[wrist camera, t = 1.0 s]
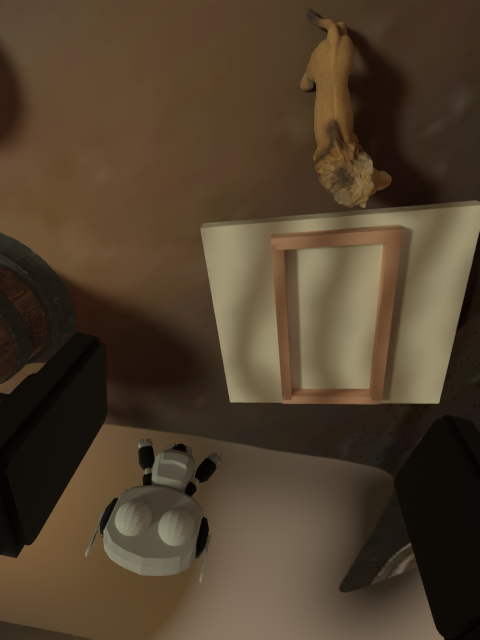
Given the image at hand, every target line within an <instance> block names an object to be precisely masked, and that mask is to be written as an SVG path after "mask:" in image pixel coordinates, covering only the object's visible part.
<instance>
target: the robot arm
mask: <svg viewBox="0 0 480 640" xmlns="http://www.w3.org/2000/svg"><path fill="white" fill-rule="evenodd" d="M106 415H107V382H106V347H105V344H103V343H100V339H99V337H96V336H92V335H87V334H83V333H75V334H74V335H73V336H72V337H71V338H70V339H69V340H68V341H67V342H66V343H65V344H64V345H63V346H62V347H61V348H60V349H59V350H58V351H57V353H56V354H55V355H54V356H53V357H52V358H51V359H50V360H49V361H48V362H47V363H46V364H45V365H44V366H43V367H42V368H41V369H40V370H39V371H38V372H37V373H33V374H31V375H29V376H28V377H26V378H25V379H24V380H23V381H22V382H21V383H20V384H19V385H18V386H17V387H16V388H15V389H14V390H13V391H12V392H11V393H10V394H9V395H8V396H7V397H6V398H5V399H4V400H3V401H2V402H1V404H0V555H5V556H9V557H14V558H17V557H18V555H19V553H20V552H21V550H22V548H23V547H24V545H31V544H32V543H33V542H34V540H35V539H36V538H37V536H38V534H39V533H40V531H41V529H42V528H43V526H44V524H45V523H46V520H47V519H48V517H49V516H50V514H51V512H52V510H53V509H54V507H55V505H56V504H57V502H58V500H59V499H60V497H61V495H62V493H63V492H64V490H65V488H66V486H67V485H68V483H69V481H70V480H71V478H72V476H73V475H74V473H75V471H76V470H77V468H78V466H79V464H80V463H81V461H82V459H83V457H84V456H85V454H86V452H87V451H88V449H89V447H90V446H91V444H92V442H93V440H94V439H95V437H96V435H97V434H98V432H99V430H100V428H101V427H102V425H103V423H104V421H105V419H106ZM394 485H395V490H396V494H397V497H398V500H399V504H400V507H401V511H402V514H403V517H404V521H405V524H406V528H407V531H408V534H409V538H410V541H411V545H412V548H413V551H414V555H415V558H416V562H417V565H418V569H419V572H420V575H421V579H422V582H423V585H424V589H425V592H426V596H427V599H428V602H429V606H430V609H431V613H432V616H433V619H434V623H435V626H436V628H437V630H438V632H439V633H440V634H441V636H443V637H444V640H480V433H479V431H478V430H477V428H476V427H475V425H474V424H473V422H472V421H470V420H469V419H465V418H460V417H456V416H451V415H445V416H443V417H442V418H441V419H437V420H436V421H435V422H434V423H433V424H432V426H431V427H430V429H429V430H428V431H427V433H426V434H425V436H424V437H423V438H422V440H421V441H420V442H419V444H418V445H417V447H416V448H415V449H414V451H413V452H412V454H411V455H410V456H409V458H408V459H407V461H406V462H405V463H404V465H403V466H402V468H401V469H400V470H399V472H398V473H397V475H396V477H395V482H394ZM0 640H95V639H90V638H85V637H81V636H76V635H71V634H66V633H60V632H55V631H50V630H44V629H40V628H34V627H29V626H24V625H19V624H14V623H8V622H3V621H0Z"/></svg>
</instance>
